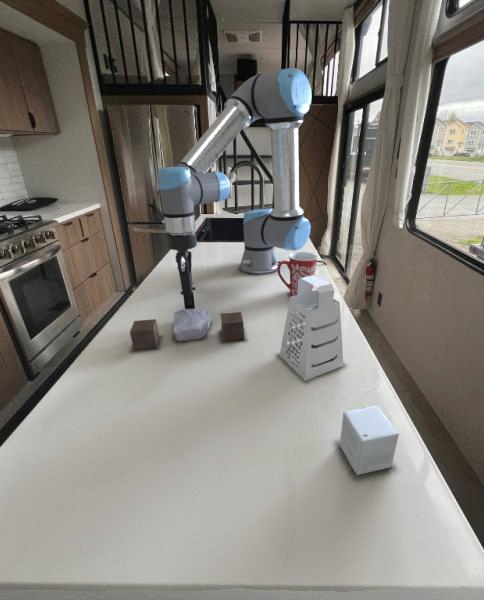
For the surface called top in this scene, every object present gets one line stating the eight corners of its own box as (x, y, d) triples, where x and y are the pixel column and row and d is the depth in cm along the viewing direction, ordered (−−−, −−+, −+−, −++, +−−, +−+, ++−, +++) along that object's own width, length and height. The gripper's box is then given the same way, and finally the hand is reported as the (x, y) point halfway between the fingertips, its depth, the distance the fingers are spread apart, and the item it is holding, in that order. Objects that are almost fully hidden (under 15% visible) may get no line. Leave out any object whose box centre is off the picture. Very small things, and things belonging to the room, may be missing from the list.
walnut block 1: (159, 337, 86) (156, 318, 83) (156, 348, 81) (153, 329, 78) (138, 339, 85) (134, 320, 83) (134, 350, 80) (129, 331, 78)
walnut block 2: (241, 329, 88) (241, 311, 86) (244, 340, 83) (243, 321, 81) (221, 331, 88) (220, 313, 85) (222, 342, 83) (221, 323, 80)
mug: (313, 288, 112) (315, 251, 106) (316, 300, 104) (319, 260, 98) (276, 289, 112) (277, 251, 106) (277, 300, 104) (277, 260, 98)
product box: (392, 468, 50) (400, 434, 47) (356, 476, 49) (361, 442, 46) (371, 437, 55) (377, 404, 52) (338, 443, 54) (342, 410, 51)
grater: (305, 380, 69) (310, 295, 60) (279, 355, 77) (280, 277, 68) (343, 365, 73) (353, 284, 64) (315, 343, 81) (320, 268, 73)
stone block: (207, 322, 96) (173, 320, 93) (209, 308, 93) (174, 305, 91) (211, 345, 85) (172, 344, 83) (213, 330, 83) (173, 328, 81)
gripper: (168, 226, 88) (179, 303, 99) (163, 239, 77) (175, 325, 87) (196, 225, 89) (203, 302, 100) (194, 237, 78) (203, 322, 88)
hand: (190, 312), depth 93 cm, fingers closed
